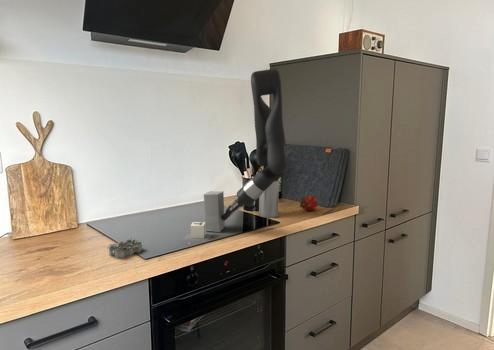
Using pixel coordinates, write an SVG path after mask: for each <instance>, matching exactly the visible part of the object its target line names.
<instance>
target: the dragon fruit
mask: <svg viewBox="0 0 494 350" xmlns="http://www.w3.org/2000/svg"><path fill="white" fill-rule="evenodd" d="M299 205H300V208H302V209H303V210H304V211H305V212H308V211H312V212H313V211H315V210H316V208H317V207H318V205H319V203H318V199H317V197H315V196H314V195H305V196H302V197H301V198H300V201H299ZM306 210H307V211H306Z"/></svg>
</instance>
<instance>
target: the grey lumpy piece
mask: <svg viewBox="0 0 494 350" xmlns="http://www.w3.org/2000/svg"><path fill="white" fill-rule="evenodd" d="M143 245H145V243H144V242H141V241H139V240H138V239H135V238H133V237H130V238H129V239H127V240H121V241H119V242H116V243H111V244H109V245H108V246H107V249H108V253H109V254H108V255H109V256H111V257H113V256H114V257H115V258H116V259H120V258H121V259H123V258H125V256H132V255H133V254H134V253H141V252H142V250H143ZM140 251H141V252H140Z"/></svg>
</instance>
